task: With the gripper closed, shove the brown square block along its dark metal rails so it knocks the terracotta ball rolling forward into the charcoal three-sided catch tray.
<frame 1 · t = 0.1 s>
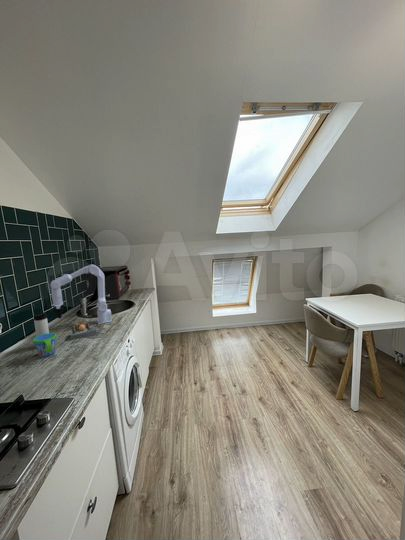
hand: (59, 316, 157), 10 cm above the worktop, tool pointing down, fingers open, 7 cm apart
travel mug: (44, 345, 135), on the worktop
catch tray: (83, 334, 149), on the worktop
snack cup: (47, 354, 125), on the worktop
ball: (82, 327, 157), point 2 cm above the worktop
brown square block: (81, 325, 162), point 2 cm above the worktop, slide at 0.0 cm
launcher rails: (81, 328, 160), on the worktop
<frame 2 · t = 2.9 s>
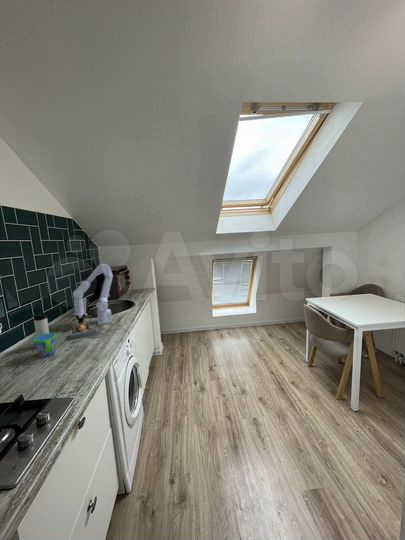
hand: (81, 324, 164), 1 cm above the worktop, tool pointing down, fingers closed
ball: (82, 328, 156), point 2 cm above the worktop, tilted 37°
brown square block: (81, 325, 160), point 2 cm above the worktop, slide at 2.3 cm, touching gripper
everything else where it was.
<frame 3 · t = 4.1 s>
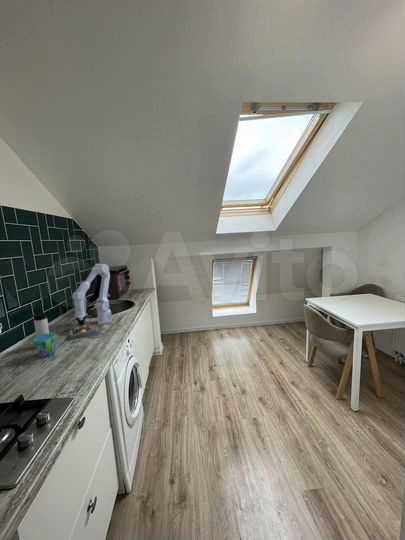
hand: (81, 327, 159), 1 cm above the worktop, tool pointing down, fingers closed
ball: (83, 332, 148), point 2 cm above the worktop, tilted 48°
brown square block: (82, 328, 155), point 2 cm above the worktop, slide at 8.2 cm, touching gripper
everything else where it was.
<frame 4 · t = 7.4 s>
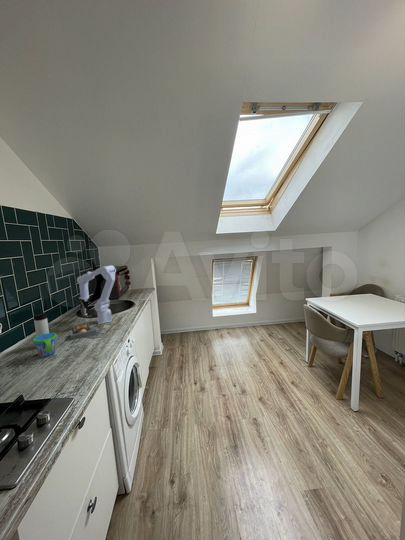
hand: (86, 308, 176), 9 cm above the worktop, tool pointing down, fingers closed
ball: (83, 332, 148), point 2 cm above the worktop, tilted 58°
brown square block: (82, 328, 155), point 2 cm above the worktop, slide at 8.2 cm
everything else where it was.
at the end: ball inside the target area (1.1 cm from its centre), point 2.0 cm above the worktop; brown square block slide at 8.2 cm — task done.
